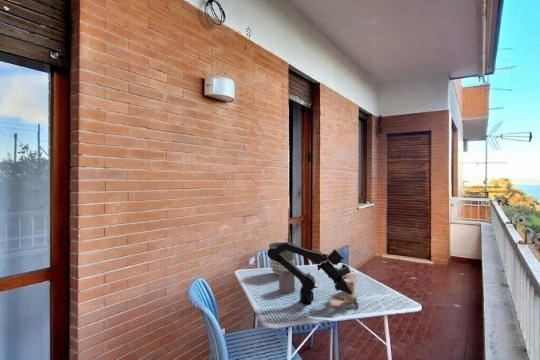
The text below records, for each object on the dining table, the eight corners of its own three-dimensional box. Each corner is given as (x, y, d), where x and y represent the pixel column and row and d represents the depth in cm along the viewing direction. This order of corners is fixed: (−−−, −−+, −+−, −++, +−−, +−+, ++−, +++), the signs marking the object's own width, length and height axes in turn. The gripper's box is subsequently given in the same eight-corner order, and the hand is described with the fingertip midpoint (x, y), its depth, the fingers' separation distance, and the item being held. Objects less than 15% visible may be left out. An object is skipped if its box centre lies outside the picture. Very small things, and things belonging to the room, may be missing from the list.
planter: (270, 270, 243) (270, 242, 243) (296, 271, 240) (296, 242, 241) (267, 277, 224) (266, 247, 224) (294, 278, 221) (294, 247, 221)
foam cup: (347, 289, 198) (347, 268, 198) (360, 293, 191) (360, 271, 192) (338, 293, 191) (338, 271, 192) (352, 297, 185) (352, 274, 185)
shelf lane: (327, 308, 169) (326, 300, 169) (327, 300, 180) (327, 293, 181) (358, 310, 165) (358, 302, 165) (357, 302, 177) (357, 294, 177)
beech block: (344, 304, 170) (344, 281, 170) (344, 301, 175) (344, 279, 175) (354, 305, 169) (353, 282, 169) (353, 301, 174) (353, 279, 174)
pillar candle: (284, 287, 204) (284, 263, 204) (297, 289, 198) (297, 265, 198) (276, 291, 196) (275, 267, 196) (289, 294, 190) (289, 269, 190)
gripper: (341, 265, 164) (363, 288, 162) (341, 256, 182) (361, 277, 180) (325, 279, 166) (347, 302, 163) (327, 269, 184) (347, 290, 182)
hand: (351, 292), depth 172 cm, fingers closed on beech block, 5 cm apart
